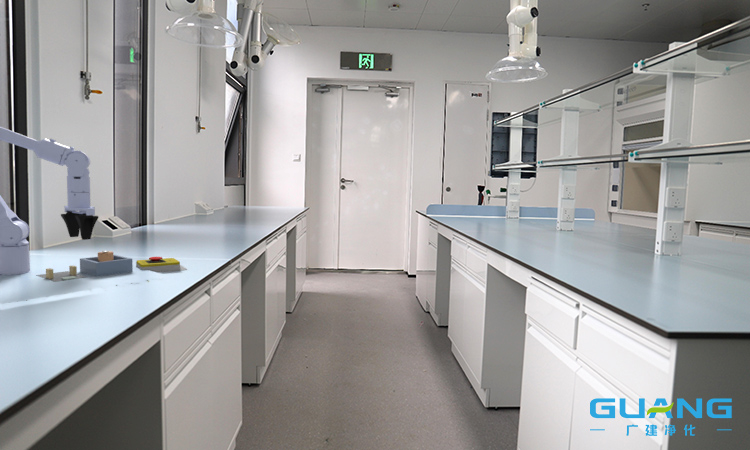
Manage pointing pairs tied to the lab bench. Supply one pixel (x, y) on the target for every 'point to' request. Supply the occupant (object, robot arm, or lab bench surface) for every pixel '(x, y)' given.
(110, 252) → the copper cell
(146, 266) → the emergency button
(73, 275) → the checker cradle
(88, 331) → the lab bench surface
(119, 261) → the grey open box
